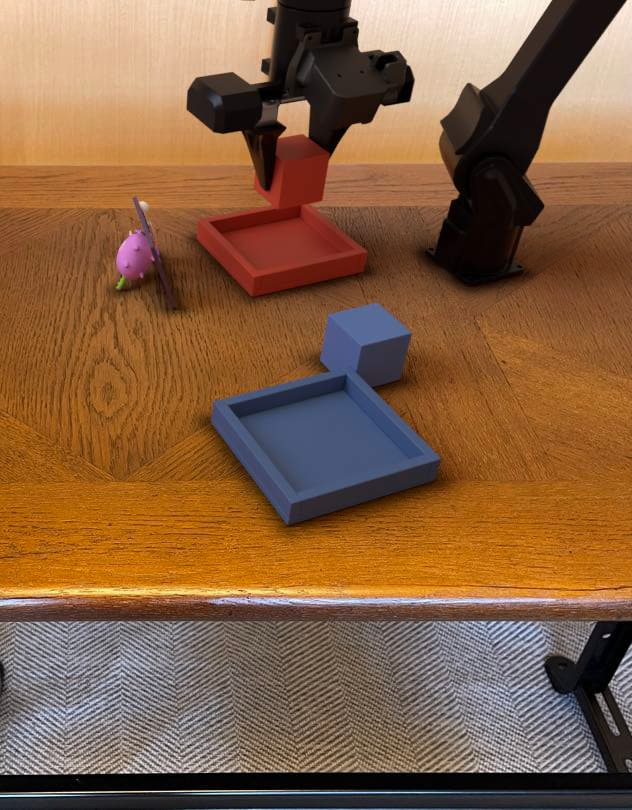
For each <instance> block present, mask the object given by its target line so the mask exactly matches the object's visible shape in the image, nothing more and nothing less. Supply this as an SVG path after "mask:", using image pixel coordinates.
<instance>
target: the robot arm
mask: <svg viewBox="0 0 632 810" xmlns="http://www.w3.org/2000/svg"><path fill="white" fill-rule="evenodd" d="M242 1H245V2H246V1H251V2H255V1H256V0H242ZM627 1H628V0H551V1H550V2H549V4H548V5H547V7H546V8H545V10H544V11H543V12H542V14H541V16H540V18H539V19H538V21H537V22H536V23H535V25H534V26H533V28H532V29H531V31H530V33H529V34H528V35H527V37H526V38H525V39H524V41H523V43H522V44H521V46H520V47H519V49H518V50H517V52H516V53H515V55H514V56H513V58H512V59H511V61H510V62H509V63H508V65H507V66H506V68H505V69H504V71H503V72H502V73H501V74H500V75H499V76H498V77H497V78H495V79H494V80H492V81H491V82H490V83H488V84H487V85H485V86H484V87H483V88H481V89H480V88H479V87H478V86H476V85H474V84H473V83H471V82H466V84H465V85H464V86H463V89H462V90H461V92H460V94H459V96H458V99H457V101H456V103H455V105H454V107H452V109H451V110H450V112H449V113H448V114H447V115H446V116H444V117H443V118H442V119H440V120H439V124H440V126H441V128H442V132H441V134H440V136H439V140H438V149H439V153H440V158H441V160H442V162H443V164H444V166H445V168H446V170H447V173H448V175H449V177H450V180H451V182H452V184H453V186H454V188H455V190H456V191H457V192H458V193H459V194H458V195H457V197H456V198H454V199H451V200H450V204H449V206H448V207H449V208H448V211H447V215H446V217H445V218H443V220H442V223H441V226H440V227H441V228H440V231H439V235H438V239H437V243H436V244H435V245H431V246H426V247H425V249H424V254H425V255H426V256H427V257H428V258H430V259H431V260H433V261H434V262H435V263H437V264H438V265H439V266H440V267H442V268H443V269H444V270H445V271H447V272H448V273H449V274H451V275H452V276H454V277H455V278H456V279H457V280H458V281H460V282H461V283H463V284H464V285H466V286H475V285H479V284H484V283H488V282H492V281H496V280H499V279H500V280H501V279H504V278H508V277H512V276H513V277H514V276H517V275H520V274H524V273H525V269H526V266H525V265H523V264H522V263H521V262H519V261H518V260H516V259H515V256H516V253H517V250H518V248H519V245H520V241H521V238H522V235H523V231H524V229H525V227H531V226H532V225H533V224H534V223H535V221H536V220H537V218H539V215H540V214H541V213H542V212H543V211H544V209H545V207H546V206H545V203H544V202H543V199H542V198H541V196H540V195H539V193H538V191H537V190H536V188H535V186H534V184H533V183H532V181H531V180H530V177H528V175H527V172H528V170H529V169H530V166H531V164H532V163H533V161H534V159H535V157H536V155H537V153H538V151H539V149H540V146H541V143H542V140H543V137H544V136H543V135H544V132H545V128H546V125H547V123H548V119H549V115H550V111H551V109H552V106H553V105H554V103H555V102H556V100H557V99H558V98H559V96H560V95H561V94H562V92H563V90H564V89H565V88H566V86H567V84H569V82H570V80H571V79H572V78H573V76H574V75H575V73H576V72H577V71H578V70H579V68H580V66H581V65H582V64H583V62H584V61H585V59H586V58H587V57H588V55H589V54H590V53H591V51H592V50H593V49H594V47H595V46H596V44H597V43H598V42H599V40H600V39H601V37H602V36H603V35H604V33H605V32H606V30H607V29H608V28H609V27H610V25H611V24H612V23H613V21H614V20H615V18H616V17H617V16H618V14H619V13H620V11H621V10H622V8H623V7H624V5H625V4H626V3H627ZM352 2H353V0H276V6H271V7H270V6H269V7H267V10H266V22H268V23H269V24H271V25H272V26H273V32H272V33H273V34H272V42H271V51H270V57H267V58H262V59H261V63H260V64H261V66H260V72H261V73H263V74H264V75H266V76H267V81H263V82H256V83H249V82H248V81H246V80H245V79H244V78H242V77H241V76H239V75H238V74H237V73H235V72H234V71H228V72H222V73H215V74H209V75H202V76H197V77H195V78H194V80H193V81H192V82H191V84H190V85H189V87H188V89H187V91H186V107H185V108H186V111H187V112H188V113H190V114H191V115H192V116H193V117H195V118H196V119H197V120H198V121H199V122H200V123H202V124H203V125H204V126H205V127H206V128H208V129H209V130H210V131H211V132H212V133H215V134H219V135H220V134H221V135H227V134H232V133H238V132H241V134H242V136H243V138H244V141H245V144H246V146H247V149H248V152H249V156H250V158H251V161H252V165H253V167H254V172H255V171H256V174H257V177H258V180H259V184H260V186H261V188H262V189H264V190H265V191H269V190H270V188H271V183H272V179H273V175H274V165H275V156H276V147H277V140H278V138H281V136H282V135H283V133H285V131H287V126H286V125H284V124H283V123H281V121H279V120H278V116H279V109H280V106H281V105H287V104H292V103H298V102H303V101H304V102H305V101H306V102H307V103H308V105H309V118H308V119H309V120H308V133H307V137H308V138H309V139H311V140H312V141H313V142H315V143H316V144H317V145H319V146H320V147H322V148H323V149H324V150H326V151H327V152H328V153H330V157H329V161H330V159H331V158H332V156H333V154H334V152H335V150H336V148H337V147H338V145H339V144H340V142H341V140H342V139H343V138H344V136H345V134H347V131H348V130H349V129H350V127H352V126H353V125H357V124H360V125H368V124H371V123H372V122H373V121H374V119H375V117H376V115H377V114H378V113H377V112H378V111H379V109H380V106H383V107H388V106H394V105H401V104H405V103H411V100H412V97H413V92H414V87H415V83H416V78H415V74H414V71H413V69H412V67H411V65H409V64H408V60H407V58H405V56H404V55H403V54H402V53H401V51H400V50H392V51H384V50H382V49H373V50H367V51H361V50H360V48H359V34H360V29H359V28H360V27H359V22H360V21H359V20H357V19H355V18H353V17H352V16H350V14H351V8H352Z"/></svg>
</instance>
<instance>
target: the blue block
mask: <svg viewBox="0 0 632 810" xmlns="http://www.w3.org/2000/svg"><path fill="white" fill-rule="evenodd" d="M412 335H413V332H412V331H411V330H410V329H408V327H406V325H404V324H403V323H401V322H400V320H398V319H397V318H396V317H395V316H393V314H392V313H390V312H389V311H388V310H387V309H386V308H384V307H383V306H382V305H381V304H380V303H378V302H373V303H370V304H366V305H365V304H364V305H362V306H358V307H354V308H350V309H349V308H348V309H345V310H342V311H337V312H333V313H329V314H328V316H327V321H326V327H325V331H324V338H323V342H322V347H321V352H320V358H319V361H320V363H321V364H323V365H324V367H325V368H326V369H328V372H330V371H334V370H337V369H342V368H345V367H349V366H350V367H351V368H352V369H353V370H354V371H355V372H356V373H357V374H358V375H359V376H360V377H361V378H362V379H363V380H364V381H365V382H366V383H367V384H368V385H369V386H370V387H371V388H375V387H378V386H382V385H386V384H389V383H393V382H397V381H400V380H401V377H402V373H403V370H404V366H405V362H406V358H407V354H408V351H409V347H410V343H411V339H412Z"/></svg>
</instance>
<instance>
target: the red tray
mask: <svg viewBox="0 0 632 810" xmlns="http://www.w3.org/2000/svg"><path fill="white" fill-rule="evenodd" d="M196 240H197V241H198V242H199V243H200V244H201V246H202V247H204V248H205V250H207V252H209V254H210V255H211V256H212V257H213V258H214V259H215V260H216V261H217V262H218V263H219V264H220V266H222V268H223V269H224V270H225V271H226V272H227V273H228V274H229V275H230V276H231V277H232V278H233V279H234V280H235V281H236V283H238V284H239V286H241V288H243V289H244V291H245V292H246V293H247V294H248V295H249V296H250V297H251V298H254V297H258V296H259V297H260V296H263V295H267V294H272V293H275V292H281V291H285V290H290V289H294V288H299V287H302V286H308V285H311V284H316V283H321V282H326V281H329V280H334V279H339V278H342V277H347V276H352V275H355V274H359V273H364V272H365V269H366V268H365V267H366V263H367V258H368V254H369V252H368V251H367V250H366V249H365V248H364V247H363V246H361V245H360V244H359V243H357V242H356V241H355V240H354V239H353V238H352V237H351V236H349V235H348V234H347V233H346V232H345V231H343V229H341V228H340V227H339V226H337V224H335V223H334V222H333V221H331V220H330V219H329V218H328V217H326V216H325V215H324V214H322V213H321V212H320V211H319V210H318V209H317V208H315V207H314V206H313V205H312V204H311V203H310V204H305V205H300V206H295V207H291V208H286V209H281V210H278V209H276V208H275V207H274V206H273V205H272V204H271V205H266V206H260V207H255V208H250V209H245V210H241V211H235V212H229V213H223V214H219V215H215V216H209V217H206V218H199V219H197V230H196Z"/></svg>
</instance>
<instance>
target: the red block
mask: <svg viewBox="0 0 632 810" xmlns="http://www.w3.org/2000/svg"><path fill="white" fill-rule="evenodd" d="M329 157H330V153H328V152H327V151H326V150H324V149H323V148H322V147H320V146H319V145H317V144H316V143H315V142H313V141H312V140H311V139H309V138H308V136H307V135H306V134H304V133H300V134H294V135H289V136H283V137H279V138H278V140H277V147H276V156H275V165H274V175H273V179H272V183H271V188H270V190H269V191H265V190H264V189H262V188H261V186H260V184H259V180H258V177H257V174H256V171H255V170H254V179H253V190H255V191H256V192H257V193H258V194H259V195H260V196H261V197H262V198H263V199H265V200H266V201H267V202H268V203H270V204H271V205H273V206H274V207H275V208H276V209H278V210H281V209H286V208H291V207H295V206H300V205H305V204H310V205H311V204H315V203H320V202H322V201H323V199H324V198H323V197H324V194H325V186H326V180H327V175H328V170H329V169H328V168H329V162H330V160H329Z"/></svg>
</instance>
